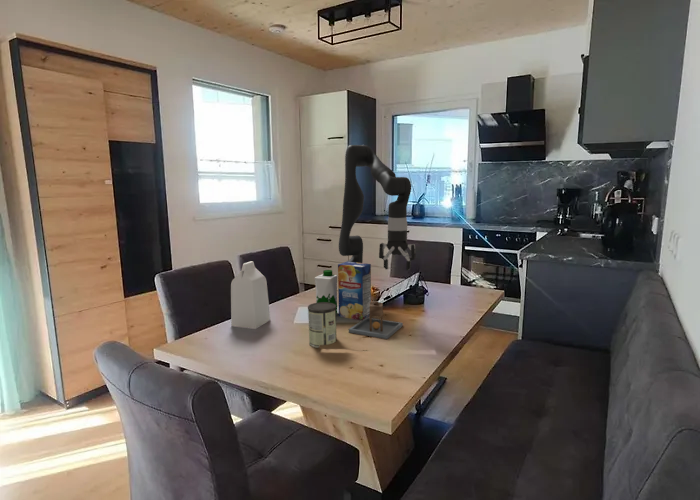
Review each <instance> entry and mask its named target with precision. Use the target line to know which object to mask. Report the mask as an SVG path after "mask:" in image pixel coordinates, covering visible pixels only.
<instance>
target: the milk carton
mask: <svg viewBox="0 0 700 500" xmlns="http://www.w3.org/2000/svg"><path fill="white" fill-rule="evenodd" d="M314 285H315V303H319V302H328V303H333V304H335V305H336V314H338V274H333V269H325V270H323V273H322V274H319V275H317V276H315V277H314Z"/></svg>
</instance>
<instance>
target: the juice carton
mask: <svg viewBox="0 0 700 500" xmlns="http://www.w3.org/2000/svg"><path fill="white" fill-rule="evenodd" d="M371 291H372V263H364V262H362V263H356V262H347V261H344V262H342V263H338V264H337V301H338V317H340V318H346V319H352V320H357V321H362V320H363V319H365V318H366V317H368V318H370V303H372V292H371Z"/></svg>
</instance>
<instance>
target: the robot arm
mask: <svg viewBox="0 0 700 500" xmlns="http://www.w3.org/2000/svg"><path fill="white" fill-rule="evenodd" d="M344 163H345V165H344V168H345V169H344V179H345V180H344V190H343V191H344V192H343V202H342V217H341V227H340V233H339V237H338V238H339V239H338V252H339V254H340V255H341V256H343V257H347V256H348V257H350V256H351V257H350V259H349V260H346V262H356V263H364V261H363V260H364V259H363V257H364V241H363V239H362V237H361V236H360V235H351V232H352V228H353V226H354V225H355V223H356V222H357V221H358V220H359V218H360V216H361V215H362V212H363V211H364V201H365V196H364V191H363V190H362V187H361V186H360V184H359V181H358V178H357V171H356V170H357V167H361V168H362V167H367V168H369V169H370V174H371V176H372V178H373V179H374V180H376V181H377V182H378V183H379V184H380V186H381V187H382V190H383V192H384V193H385V194H386V195H388V196H391V197H392V196H397V197H396V198H397V199H396V200H395V201H391V202H390V203H389V204H388V220H387V242H386V243H384V242H381V243H379V248H378V250H379V253H378V258H379V259H382V260H383V268H384V269H385V270H388V269H389V259H388V258H389V257H390V256H391V255H393V256H395V255H398V256H403V257H404V258H405V260H406V272H407V271H409V270H411V268H412V265H411V264H412V261H414V260H415V259H416V258H417V253H416V251H417V250H416V244H415V243H412V244H411V243H410V244H409V243H408V220H407V218H408V217H407V216H408V215H407V214H408V213H407V211H408V210H407V209H408V208H407V207H408V203H409V200H410V196H411V192H412V182H411V180H410V179H409V178H408V177H406V176H397V175H396V173H395V171H393V170H392V169H391V168H390V167H389V166H387V165H386V164H385V163H384V162H383V161H381V160H380V158H379V156H378V155H377V153H376V152H375V151H374V150H373V149H372V148H371V147H370V146H369V145H367V144H366V145H365V144H350V145H348V146H347V148H346V150H345V155H344ZM386 248H387V249H388V251H387V252H386V254H385V253H384V251H385V249H386ZM408 248H409V250H410V251H411V256H410V254H409V253H408V251H407V249H408ZM384 254H385V255H384Z"/></svg>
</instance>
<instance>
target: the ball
mask: <svg viewBox="0 0 700 500" xmlns="http://www.w3.org/2000/svg"><path fill="white" fill-rule="evenodd" d="M372 326H373V328H374V329H379V327H380V324H379V322H374V323H373V324H372Z"/></svg>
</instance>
